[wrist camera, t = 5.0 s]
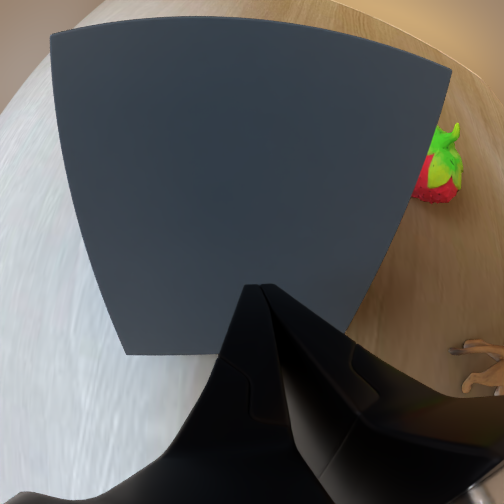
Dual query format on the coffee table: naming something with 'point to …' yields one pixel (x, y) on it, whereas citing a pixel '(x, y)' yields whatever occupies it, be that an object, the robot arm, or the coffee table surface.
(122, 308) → the lid
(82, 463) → the coffee table surface
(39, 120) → the coffee table surface
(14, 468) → the coffee table surface
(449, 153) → the strawberry
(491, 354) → the lion figurine
